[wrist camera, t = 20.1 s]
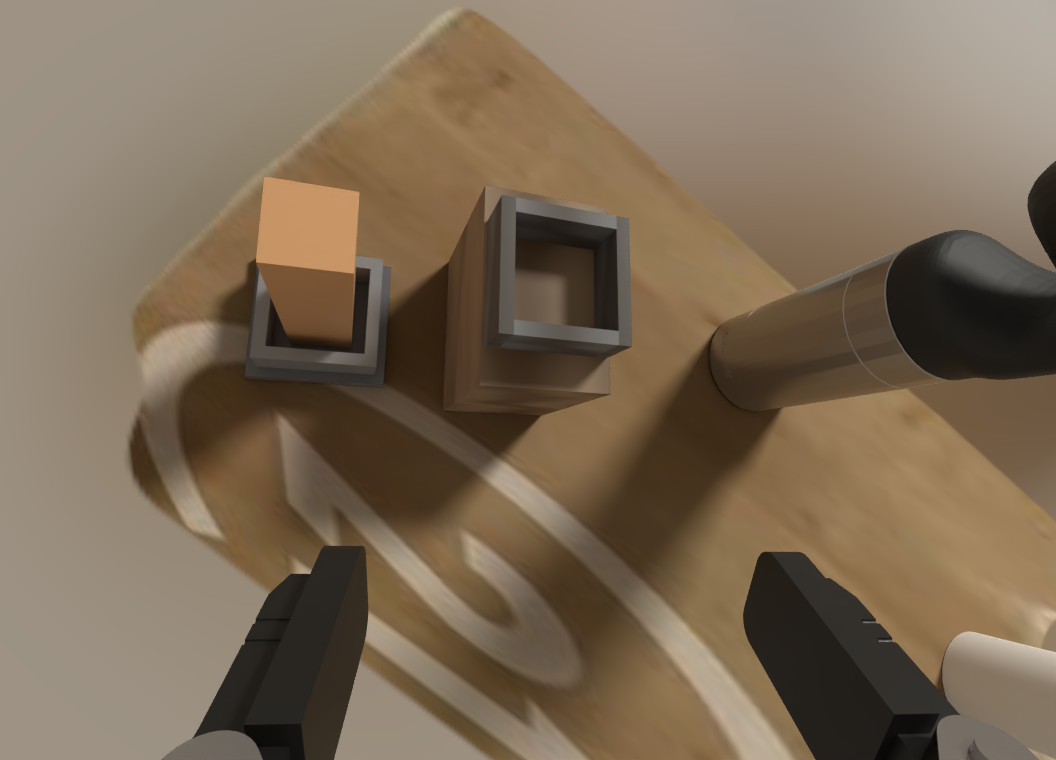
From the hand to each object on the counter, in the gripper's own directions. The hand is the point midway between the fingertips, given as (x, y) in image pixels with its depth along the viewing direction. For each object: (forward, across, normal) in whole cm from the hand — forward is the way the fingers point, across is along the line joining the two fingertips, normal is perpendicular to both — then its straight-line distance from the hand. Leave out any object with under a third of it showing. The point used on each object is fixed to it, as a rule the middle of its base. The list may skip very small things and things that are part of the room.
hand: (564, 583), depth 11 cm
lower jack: (+30, +13, +3) cm, 33 cm away
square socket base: (+33, +1, +4) cm, 33 cm away
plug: (+29, +13, +3) cm, 32 cm away
